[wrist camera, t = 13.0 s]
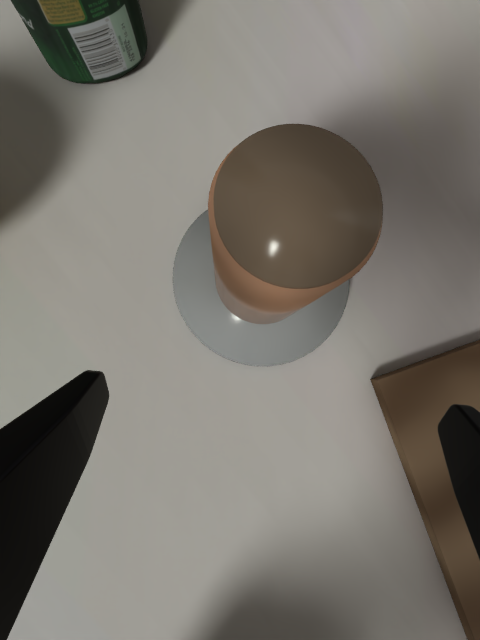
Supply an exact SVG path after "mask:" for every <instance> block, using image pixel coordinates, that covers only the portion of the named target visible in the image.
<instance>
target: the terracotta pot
mask: <svg viewBox="0 0 480 640" xmlns="http://www.w3.org/2000/svg"><path fill="white" fill-rule="evenodd" d="M208 214H209V225H210V235H211V245H212V255H213V266H214V276H215V284H216V289H217V292H218V295H219V297H220V299H221V301H222V302H223V304H224V305H225V306H226V308H227V309H228V310H229V311H230V312H231V313H232V314H234V315H235V316H237V317H238V318H240V319H242V320H244V321H247V322H250V323H254V324H271V323H276V322H279V321H281V320H284V319H286V318H287V317H289V316H291V315H292V314H294V313H295V312H297V311H299V310H300V309H302V308H304V307H305V306H307V305H308V304H310V303H312V302H313V301H315V300H317V299H318V298H320V297H321V296H323V295H325V294H326V293H328V292H330V291H331V290H333V289H334V288H336V287H338V286H339V285H341V284H343V283H344V282H346V281H347V280H349V279H350V278H352V277H353V276H354V275H355V274H356V273H357V272H359V271H360V270H361V268H362V267H363V266H364V265H365V264H366V263H367V261H368V260H369V258H370V257H371V255H372V254H373V252H374V249H375V247H376V245H377V243H378V240H379V237H380V233H381V227H382V216H383V204H382V195H381V191H380V187H379V184H378V181H377V178H376V176H375V174H374V172H373V170H372V168H371V166H370V165H369V164H368V162H367V161H366V159H365V158H364V157H363V156H362V155H361V153H360V152H359V151H358V150H357V149H356V148H355V147H353V146H352V145H351V144H350V143H349V142H347V141H346V140H344V139H343V138H341V137H340V136H338V135H336V134H334V133H332V132H330V131H327V130H325V129H322V128H319V127H315V126H311V125H304V124H284V125H277V126H273V127H269V128H266V129H264V130H261V131H259V132H257V133H255V134H253V135H251V136H249V137H248V138H246V139H245V140H244V141H242V142H241V143H240V144H239V145H237V146H236V147H235V148H234V149H233V150H232V151H231V152H230V153H229V154H228V155H227V156H226V158H225V159H224V160H223V161H222V163H221V164H220V166H219V168H218V170H217V171H216V173H215V176H214V178H213V181H212V184H211V188H210V192H209V201H208Z"/></svg>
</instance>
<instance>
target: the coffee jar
mask: <svg viewBox="0 0 480 640" xmlns="http://www.w3.org/2000/svg"><path fill="white" fill-rule="evenodd" d="M11 1H12V3H13V5H14V6H15V8H16V10H17V11H18V13H19V15H20V17H21V18H22V20H23V22H24V24H25V25H26V27H27V29H28V30H29V32H30V34H31V36H32V37H33V39H34V41H35V42H36V44H37V46H38V47H39V49H40V51H41V53H42V54H43V56H44V58H45V59H46V61H47V63H48V64H49V66H50V67H51V68H52V69H53V70H54V71H55V72H56V73H57V74H58V75H59V76H61V77H62V78H64V79H67V80H69V81H72V82H76V83H100V82H105V81H109V80H113V79H116V78H119V77H121V76H123V75H124V74H126V73H127V72H129V71H131V70H132V69H134V68H135V67H136V66H137V65H138V64H139V63H140V62H141V61H142V60H143V58H144V56H145V53H146V49H147V36H146V31H145V27H144V22H143V18H142V14H141V9H140V5H139V1H138V0H11Z"/></svg>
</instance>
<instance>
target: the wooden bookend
mask: <svg viewBox="0 0 480 640" xmlns="http://www.w3.org/2000/svg"><path fill="white" fill-rule="evenodd" d="M370 380H371V382H372V385H373V388H374V390H375V393H376V396H377V398H378V401H379V404H380V406H381V409H382V412H383V414H384V417H385V420H386V422H387V425H388V428H389V430H390V433H391V436H392V438H393V441H394V444H395V446H396V449H397V452H398V455H399V457H400V460H401V463H402V465H403V468H404V471H405V473H406V476H407V479H408V481H409V484H410V487H411V489H412V492H413V495H414V497H415V500H416V503H417V505H418V508H419V511H420V513H421V516H422V519H423V521H424V524H425V527H426V529H427V532H428V535H429V537H430V540H431V543H432V546H433V548H434V551H435V554H436V556H437V559H438V562H439V564H440V567H441V570H442V572H443V575H444V578H445V580H446V583H447V586H448V588H449V591H450V594H451V596H452V599H453V602H454V604H455V607H456V610H457V612H458V615H459V618H460V620H461V623H462V626H463V628H464V631H465V634H466V636H467V639H468V640H480V560H479V557H478V555H477V552H476V549H475V547H474V544H473V541H472V539H471V536H470V533H469V531H468V528H467V525H466V523H465V520H464V518H463V515H462V512H461V510H460V507H459V504H458V502H457V499H456V496H455V493H454V490H453V487H452V483H451V480H450V476H449V472H448V469H447V465H446V461H445V458H444V454H443V450H442V446H441V443H440V439H439V435H438V424H439V422H440V420H441V419H442V417H443V416H444V414H445V413H446V411H447V410H448V409H449V407H450V406H451V405H453V404H461V405H469V406H472V407H474V408H475V409H476V410H478V411H479V412H480V340H477V341H475V342H472V343H469V344H466V345H464V346H461V347H458V348H455V349H453V350H450V351H447V352H444V353H441V354H439V355H436V356H433V357H430V358H428V359H425V360H422V361H419V362H417V363H414V364H411V365H408V366H406V367H403V368H400V369H397V370H394V371H392V372H389V373H386V374H383V375H381V376H378V377H375V378H372V379H370Z"/></svg>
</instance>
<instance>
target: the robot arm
mask: <svg viewBox="0 0 480 640" xmlns="http://www.w3.org/2000/svg"><path fill="white" fill-rule="evenodd" d="M108 400H109V391H108V387H107V383H106V379H105V376H104V374H103V372H101V371H91V370H87V371H84V372H83V373H81V374H80V375H78V376H77V377H75V378H74V379H73V380H71V381H70V382H68V383H67V384H65V385H64V386H62V387H61V388H59V389H58V390H57V391H55V392H54V393H52V394H51V395H49V396H48V397H46V398H45V399H43V400H42V401H41V402H39V403H38V404H36V405H35V406H33V407H32V408H30V409H29V410H27V411H26V412H25V413H23V414H22V415H20V416H19V417H17V418H16V419H14V420H13V421H11V422H10V423H9V424H7V425H6V426H4V427H3V428H1V429H0V640H7V638H8V636H9V634H10V631H11V629H12V627H13V625H14V623H15V620H16V618H17V616H18V614H19V612H20V609H21V607H22V605H23V603H24V601H25V598H26V596H27V594H28V592H29V590H30V587H31V585H32V583H33V581H34V579H35V576H36V574H37V572H38V570H39V568H40V565H41V563H42V561H43V559H44V557H45V554H46V552H47V550H48V548H49V546H50V543H51V541H52V539H53V537H54V535H55V532H56V530H57V528H58V526H59V524H60V521H61V519H62V517H63V515H64V513H65V510H66V508H67V506H68V504H69V502H70V499H71V497H72V495H73V493H74V491H75V488H76V486H77V484H78V482H79V480H80V477H81V475H82V473H83V471H84V469H85V466H86V464H87V462H88V459H89V457H90V454H91V452H92V449H93V446H94V443H95V440H96V437H97V434H98V431H99V428H100V425H101V422H102V419H103V416H104V413H105V410H106V407H107V404H108ZM438 435H439V439H440V443H441V446H442V450H443V454H444V458H445V461H446V465H447V469H448V472H449V476H450V480H451V483H452V487H453V490H454V493H455V496H456V499H457V502H458V504H459V507H460V510H461V512H462V515H463V518H464V520H465V523H466V525H467V528H468V531H469V533H470V536H471V539H472V541H473V544H474V547H475V549H476V552H477V555H478V557H479V560H480V412H479V411H478V410H476V409H475V408H474V407H472V406H469V405H461V404H453V405H451V406H450V407H449V409H448V410H447V411H446V413H445V414H444V416H443V417H442V419H441V420H440V422H439V424H438Z"/></svg>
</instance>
